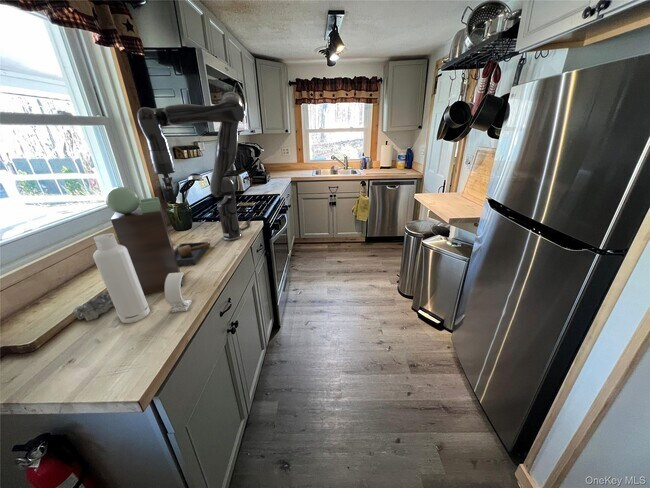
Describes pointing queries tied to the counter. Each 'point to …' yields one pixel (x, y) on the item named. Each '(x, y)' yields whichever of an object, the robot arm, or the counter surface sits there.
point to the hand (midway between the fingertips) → (172, 199)
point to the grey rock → (94, 307)
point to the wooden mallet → (190, 249)
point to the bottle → (120, 278)
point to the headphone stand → (175, 292)
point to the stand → (147, 247)
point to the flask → (130, 201)
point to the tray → (194, 256)
